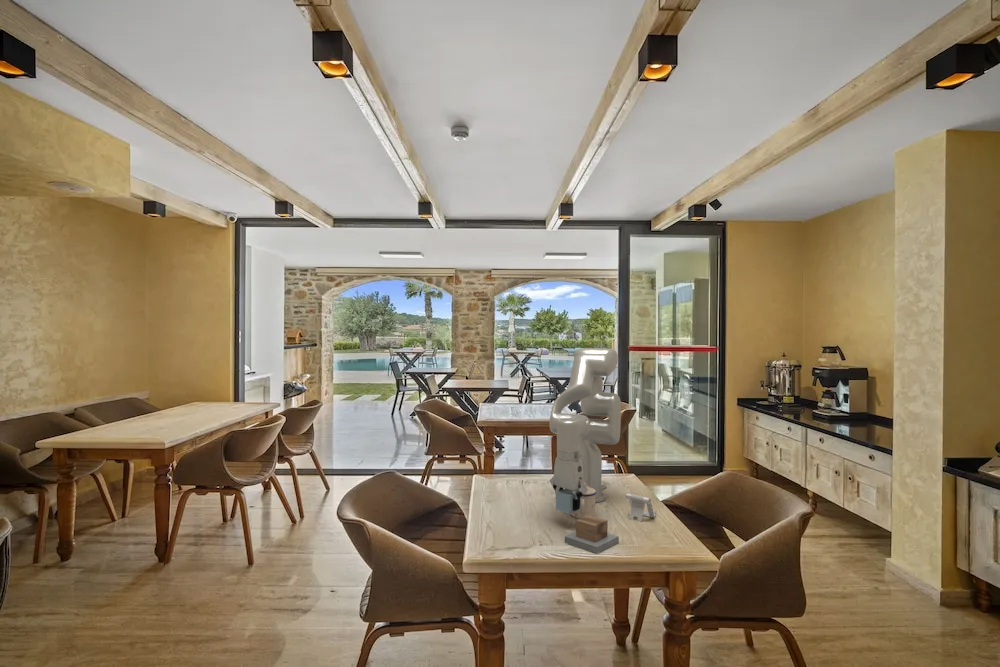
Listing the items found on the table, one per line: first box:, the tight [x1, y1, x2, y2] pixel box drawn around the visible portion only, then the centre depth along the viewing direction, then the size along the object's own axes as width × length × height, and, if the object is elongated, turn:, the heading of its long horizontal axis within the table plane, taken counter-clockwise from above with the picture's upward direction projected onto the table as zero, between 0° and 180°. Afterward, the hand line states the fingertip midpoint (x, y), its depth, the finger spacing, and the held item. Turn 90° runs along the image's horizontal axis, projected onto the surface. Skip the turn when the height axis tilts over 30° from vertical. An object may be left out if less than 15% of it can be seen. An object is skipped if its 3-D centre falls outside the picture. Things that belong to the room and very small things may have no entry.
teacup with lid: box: [570, 483, 596, 519], centre depth 188 cm, size 12×9×12 cm
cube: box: [555, 488, 581, 515], centre depth 179 cm, size 6×6×6 cm
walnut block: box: [575, 515, 608, 542], centre depth 164 cm, size 7×7×5 cm
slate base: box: [564, 530, 620, 555], centre depth 164 cm, size 12×12×2 cm
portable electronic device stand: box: [625, 492, 658, 523], centre depth 188 cm, size 9×8×8 cm
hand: (568, 506), depth 179 cm, fingers closed on cube, 6 cm apart
